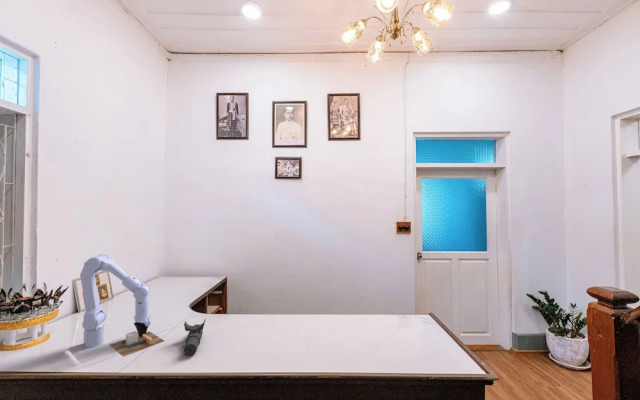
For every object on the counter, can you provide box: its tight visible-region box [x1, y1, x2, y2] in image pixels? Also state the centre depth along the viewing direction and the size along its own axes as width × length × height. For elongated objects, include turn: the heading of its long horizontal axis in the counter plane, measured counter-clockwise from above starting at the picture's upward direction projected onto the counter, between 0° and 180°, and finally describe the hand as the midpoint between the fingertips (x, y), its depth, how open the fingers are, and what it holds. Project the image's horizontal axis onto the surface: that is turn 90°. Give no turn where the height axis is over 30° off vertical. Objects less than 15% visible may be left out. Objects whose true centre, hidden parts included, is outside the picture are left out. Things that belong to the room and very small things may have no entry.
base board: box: [109, 331, 165, 358], centre depth 140 cm, size 18×18×2 cm
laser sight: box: [183, 318, 207, 357], centre depth 140 cm, size 10×22×10 cm, turn 16°
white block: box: [125, 330, 138, 346], centre depth 139 cm, size 4×4×5 cm
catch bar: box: [142, 334, 153, 345], centre depth 141 cm, size 9×1×2 cm, turn 53°
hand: (142, 336), depth 145 cm, fingers closed
